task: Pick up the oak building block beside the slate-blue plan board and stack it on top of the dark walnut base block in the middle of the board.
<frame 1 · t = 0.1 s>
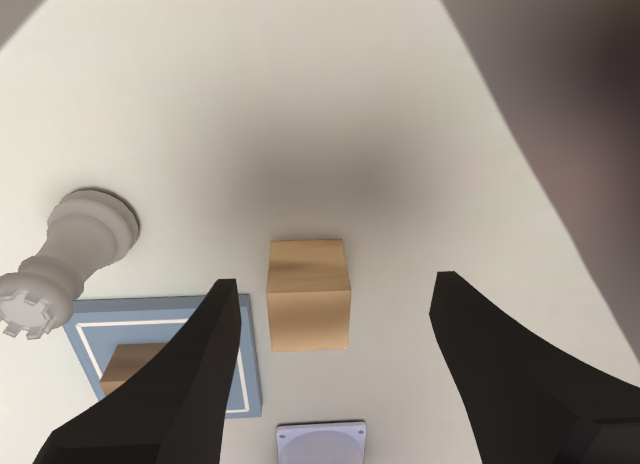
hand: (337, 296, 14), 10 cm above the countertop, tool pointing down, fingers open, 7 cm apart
plan board: (175, 358, 29), on the countertop
rook chess piece: (102, 219, 23), on the countertop
oak block: (307, 267, 25), on the countertop
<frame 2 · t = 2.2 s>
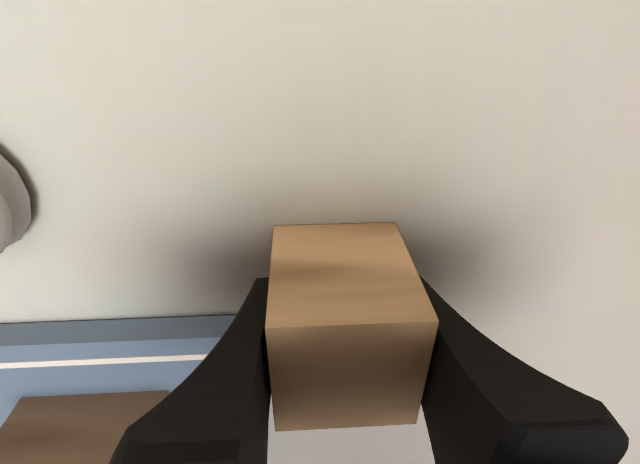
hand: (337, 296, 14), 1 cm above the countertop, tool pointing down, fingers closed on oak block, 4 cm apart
plan board: (125, 411, 19), on the countertop
oak block: (333, 272, 15), on the countertop, touching gripper
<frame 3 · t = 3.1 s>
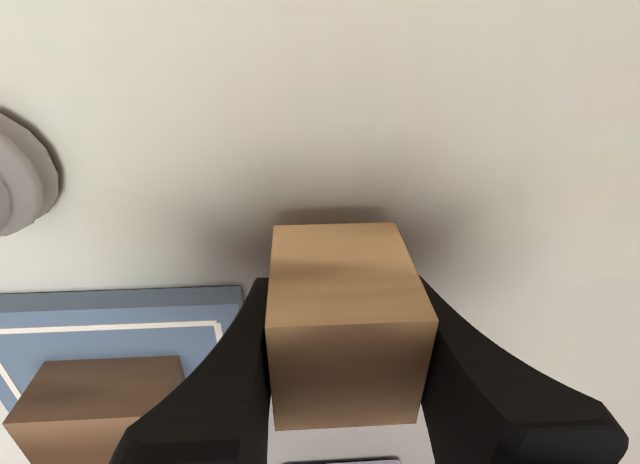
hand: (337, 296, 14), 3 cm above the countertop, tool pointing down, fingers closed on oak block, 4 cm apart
plan board: (137, 378, 20), on the countertop
rook chess piece: (2, 161, 14), on the countertop
oak block: (333, 272, 15), point 2 cm above the countertop, touching gripper
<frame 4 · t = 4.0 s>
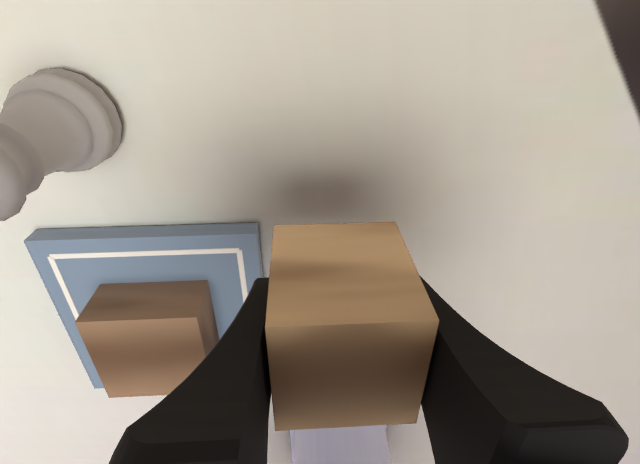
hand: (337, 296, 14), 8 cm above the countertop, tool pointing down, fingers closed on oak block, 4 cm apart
plan board: (170, 306, 25), on the countertop
rook chess piece: (77, 115, 18), on the countertop
oak block: (333, 272, 15), point 7 cm above the countertop, touching gripper
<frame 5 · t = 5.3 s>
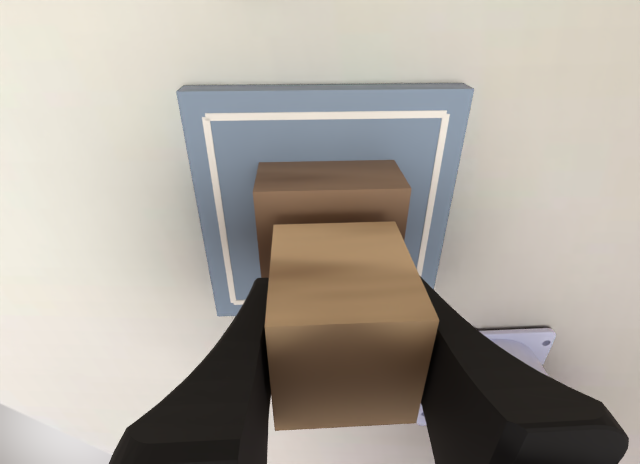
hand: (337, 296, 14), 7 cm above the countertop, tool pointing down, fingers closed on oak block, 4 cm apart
plan board: (324, 208, 20), on the countertop
oak block: (333, 271, 15), point 5 cm above the countertop, touching gripper
when the fingers open (7 cm above the countertop, at t = 6.2 s): oak block stays where it is, resting on plan board.
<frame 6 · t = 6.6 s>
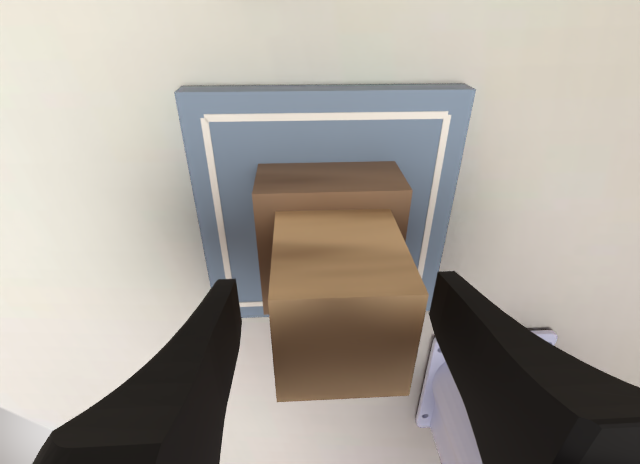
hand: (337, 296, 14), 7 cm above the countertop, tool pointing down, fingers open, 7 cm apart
plan board: (324, 209, 20), on the countertop
oak block: (332, 257, 16), point 4 cm above the countertop, touching plan board
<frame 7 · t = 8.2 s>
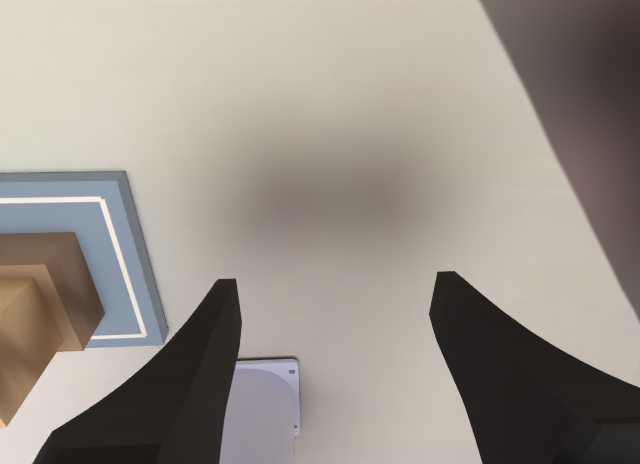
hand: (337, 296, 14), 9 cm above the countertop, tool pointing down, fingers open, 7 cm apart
plan board: (49, 264, 24), on the countertop
oak block: (5, 312, 20), point 4 cm above the countertop, touching plan board
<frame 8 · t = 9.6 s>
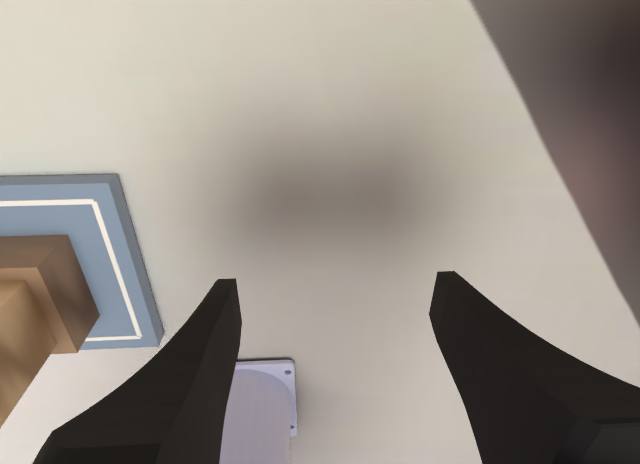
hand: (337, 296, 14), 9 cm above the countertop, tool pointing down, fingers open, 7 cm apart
plan board: (43, 267, 24), on the countertop
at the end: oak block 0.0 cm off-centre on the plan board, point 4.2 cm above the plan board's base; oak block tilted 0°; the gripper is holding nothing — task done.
